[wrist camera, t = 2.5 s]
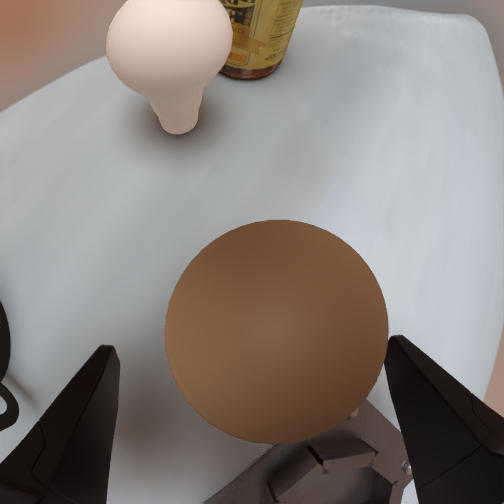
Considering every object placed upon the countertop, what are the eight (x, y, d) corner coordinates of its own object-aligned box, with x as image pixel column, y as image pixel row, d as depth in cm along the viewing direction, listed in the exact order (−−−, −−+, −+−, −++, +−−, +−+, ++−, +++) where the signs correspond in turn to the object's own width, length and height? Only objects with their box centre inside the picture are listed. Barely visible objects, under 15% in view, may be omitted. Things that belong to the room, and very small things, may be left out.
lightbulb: (125, 159, 19) (68, 35, 8) (150, 89, 21) (126, -34, 10) (216, 170, 20) (221, 35, 9) (231, 97, 21) (247, -32, 10)
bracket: (304, 561, 15) (317, 587, 11) (203, 502, 15) (202, 532, 12) (422, 455, 17) (449, 470, 14) (342, 379, 18) (367, 390, 14)
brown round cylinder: (237, 377, 17) (281, 481, 5) (183, 322, 18) (117, 328, 5) (291, 324, 18) (422, 327, 6) (238, 269, 19) (283, 177, 6)
